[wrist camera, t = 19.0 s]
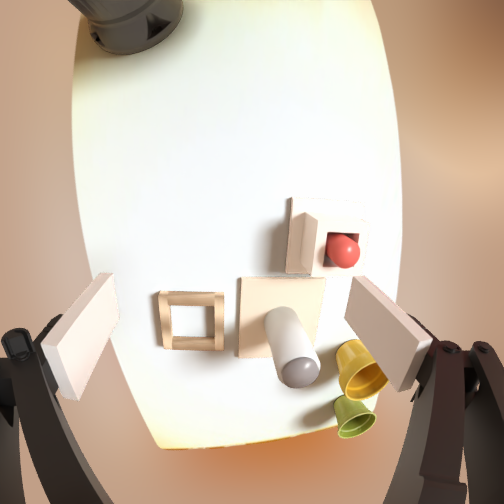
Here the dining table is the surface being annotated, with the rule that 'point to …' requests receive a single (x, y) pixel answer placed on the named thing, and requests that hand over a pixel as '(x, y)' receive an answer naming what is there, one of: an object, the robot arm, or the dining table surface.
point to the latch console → (323, 235)
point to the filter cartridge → (291, 348)
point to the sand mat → (272, 296)
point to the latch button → (342, 250)
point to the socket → (191, 300)
